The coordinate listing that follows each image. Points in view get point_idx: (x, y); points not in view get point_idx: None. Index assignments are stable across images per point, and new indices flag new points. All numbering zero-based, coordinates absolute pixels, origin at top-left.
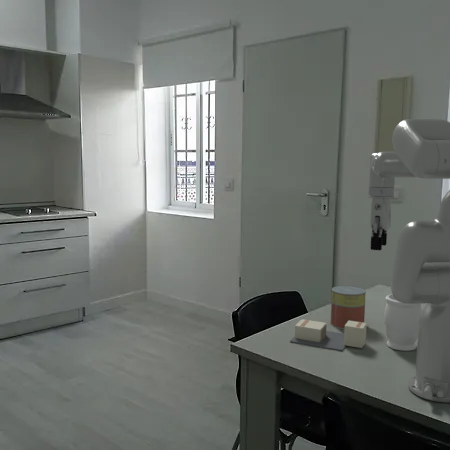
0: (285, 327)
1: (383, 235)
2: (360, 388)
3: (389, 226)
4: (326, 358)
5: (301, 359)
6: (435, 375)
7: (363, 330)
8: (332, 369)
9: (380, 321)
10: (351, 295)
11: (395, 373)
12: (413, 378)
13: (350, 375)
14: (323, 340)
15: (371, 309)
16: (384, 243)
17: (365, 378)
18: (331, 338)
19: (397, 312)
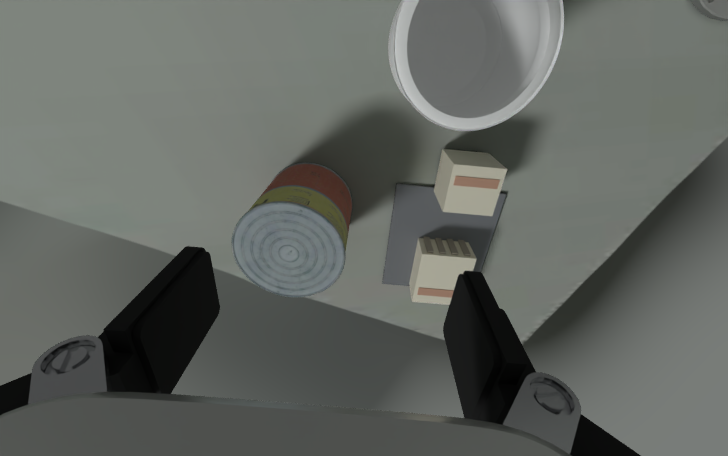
0: (389, 310)
1: (160, 334)
2: (718, 134)
3: (217, 435)
4: (552, 217)
5: (563, 257)
6: None
7: (496, 165)
8: (613, 199)
9: (240, 122)
10: (341, 238)
11: (636, 58)
12: (715, 4)
13: (646, 161)
14: (455, 237)
15: (142, 156)
16: (204, 266)
17: (664, 128)
18: (437, 224)
19: (526, 69)
